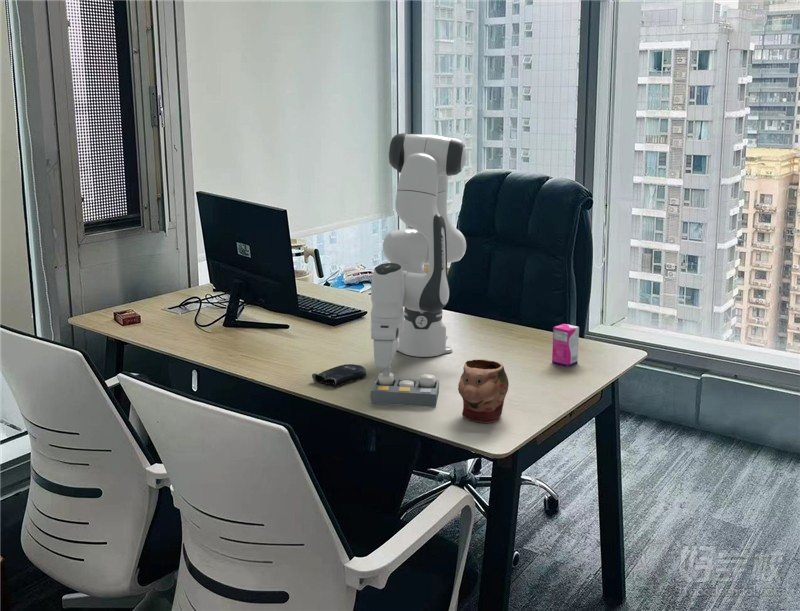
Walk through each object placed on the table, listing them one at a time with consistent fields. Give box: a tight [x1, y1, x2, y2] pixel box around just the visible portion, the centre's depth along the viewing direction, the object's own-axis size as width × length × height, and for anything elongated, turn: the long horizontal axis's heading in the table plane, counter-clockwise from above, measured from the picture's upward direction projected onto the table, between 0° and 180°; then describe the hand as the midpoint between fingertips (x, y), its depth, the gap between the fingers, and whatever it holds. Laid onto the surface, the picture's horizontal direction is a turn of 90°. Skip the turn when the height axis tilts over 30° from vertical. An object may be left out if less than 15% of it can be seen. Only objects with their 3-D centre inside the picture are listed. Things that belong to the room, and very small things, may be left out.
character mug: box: [457, 358, 510, 424], centre depth 215 cm, size 20×12×14 cm, turn 159°
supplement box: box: [551, 323, 580, 367], centre depth 257 cm, size 6×6×12 cm
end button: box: [378, 371, 394, 386], centre depth 228 cm, size 4×4×2 cm
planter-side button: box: [419, 373, 436, 388], centre depth 227 cm, size 4×4×2 cm
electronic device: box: [311, 363, 368, 388], centre depth 241 cm, size 10×6×15 cm
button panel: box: [370, 376, 440, 408], centre depth 227 cm, size 11×17×4 cm, turn 83°
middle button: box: [399, 380, 414, 387], centre depth 228 cm, size 4×4×2 cm
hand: (386, 374), depth 228 cm, fingers closed, pressing on end button
